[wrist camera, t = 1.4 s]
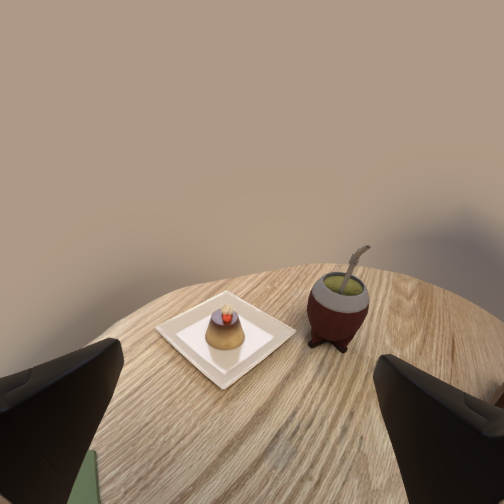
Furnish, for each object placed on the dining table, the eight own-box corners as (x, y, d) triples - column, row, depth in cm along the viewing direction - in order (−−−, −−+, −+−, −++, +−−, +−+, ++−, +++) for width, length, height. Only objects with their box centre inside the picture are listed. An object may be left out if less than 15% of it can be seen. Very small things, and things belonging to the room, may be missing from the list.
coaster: (101, 510, 10) (98, 509, 10) (41, 500, 8) (38, 498, 8) (96, 452, 15) (94, 450, 15) (42, 446, 13) (39, 444, 13)
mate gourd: (330, 313, 36) (353, 208, 29) (370, 347, 30) (410, 234, 23) (286, 331, 33) (305, 213, 26) (327, 373, 26) (368, 246, 20)
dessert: (223, 396, 23) (222, 366, 21) (155, 333, 30) (148, 302, 28) (295, 337, 32) (302, 306, 30) (226, 296, 39) (226, 267, 36)
